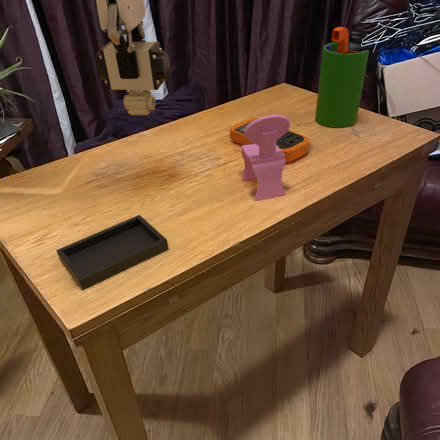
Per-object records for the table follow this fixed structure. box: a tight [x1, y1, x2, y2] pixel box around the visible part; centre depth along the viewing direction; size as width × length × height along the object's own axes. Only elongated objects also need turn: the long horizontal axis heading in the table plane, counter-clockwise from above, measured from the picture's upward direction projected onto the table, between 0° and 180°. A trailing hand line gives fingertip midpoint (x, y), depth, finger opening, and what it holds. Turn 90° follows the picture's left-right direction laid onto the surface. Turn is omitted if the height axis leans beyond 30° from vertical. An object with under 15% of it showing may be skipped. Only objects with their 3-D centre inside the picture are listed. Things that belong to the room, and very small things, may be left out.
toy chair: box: [240, 114, 291, 202], centre depth 79 cm, size 8×9×15 cm
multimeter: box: [229, 117, 310, 163], centre depth 95 cm, size 9×18×3 cm, turn 42°
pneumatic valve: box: [95, 41, 171, 116], centre depth 74 cm, size 6×12×12 cm, turn 81°
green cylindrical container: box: [314, 26, 370, 128], centre depth 97 cm, size 10×9×20 cm
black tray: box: [55, 214, 169, 291], centre depth 71 cm, size 16×10×2 cm, turn 126°
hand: (134, 70), depth 74 cm, fingers closed on pneumatic valve, 5 cm apart
